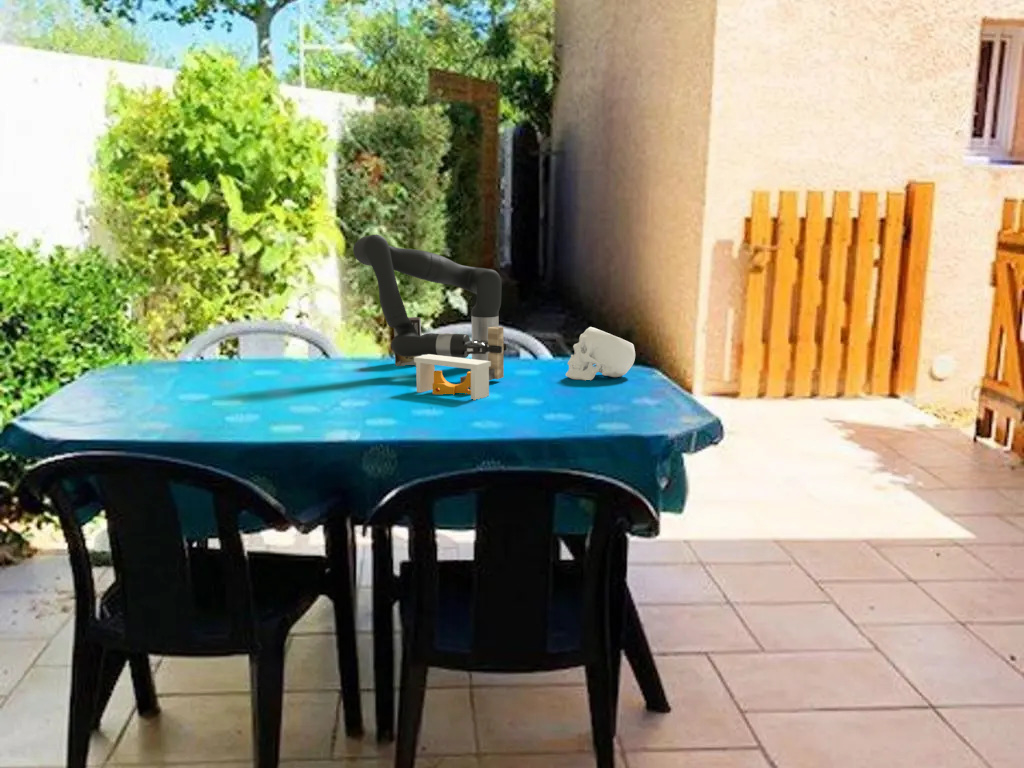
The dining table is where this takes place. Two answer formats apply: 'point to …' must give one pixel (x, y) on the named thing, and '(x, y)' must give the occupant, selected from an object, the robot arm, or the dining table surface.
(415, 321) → the coffee box
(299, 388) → the dining table surface
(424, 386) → the shelf
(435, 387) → the pipe clamp
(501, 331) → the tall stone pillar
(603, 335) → the skull planter
